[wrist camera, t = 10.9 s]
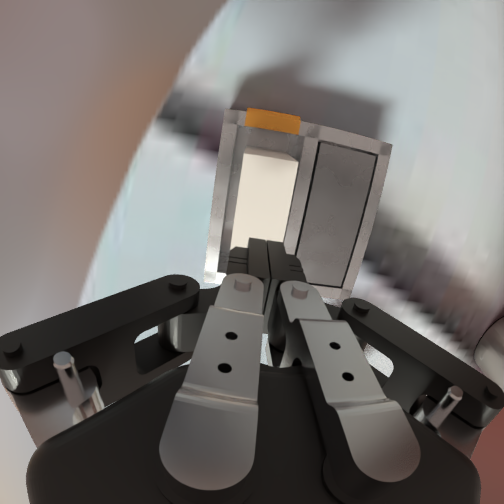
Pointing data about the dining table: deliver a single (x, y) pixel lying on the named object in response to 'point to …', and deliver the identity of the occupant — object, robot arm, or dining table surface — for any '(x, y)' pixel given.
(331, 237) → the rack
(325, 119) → the dining table surface
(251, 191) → the panel
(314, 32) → the dining table surface
